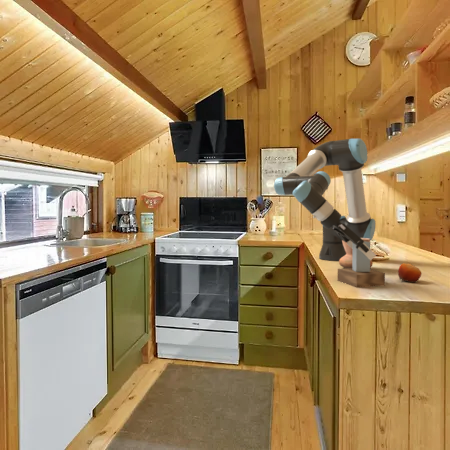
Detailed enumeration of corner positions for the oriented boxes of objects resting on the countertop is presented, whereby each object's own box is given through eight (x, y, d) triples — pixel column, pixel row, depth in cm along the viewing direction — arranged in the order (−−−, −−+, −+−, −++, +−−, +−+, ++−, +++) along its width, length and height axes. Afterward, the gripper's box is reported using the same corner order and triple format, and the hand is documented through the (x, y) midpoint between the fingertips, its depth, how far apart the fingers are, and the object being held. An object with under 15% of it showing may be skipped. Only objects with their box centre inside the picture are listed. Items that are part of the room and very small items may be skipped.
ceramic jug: (333, 266, 174) (334, 236, 173) (363, 265, 174) (363, 236, 173) (347, 273, 156) (348, 240, 155) (380, 273, 156) (381, 240, 155)
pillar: (352, 269, 139) (352, 241, 139) (365, 269, 138) (365, 241, 138) (356, 271, 134) (356, 242, 134) (370, 271, 133) (370, 242, 133)
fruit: (389, 275, 144) (401, 258, 143) (407, 285, 143) (418, 268, 142) (397, 279, 136) (409, 261, 135) (415, 290, 135) (427, 272, 134)
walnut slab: (363, 279, 144) (364, 267, 144) (384, 286, 133) (385, 273, 132) (337, 281, 141) (337, 268, 140) (356, 288, 129) (356, 274, 129)
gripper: (313, 220, 149) (349, 256, 149) (327, 224, 124) (371, 267, 124) (326, 207, 148) (362, 244, 148) (343, 208, 123) (387, 252, 123)
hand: (366, 254), depth 136 cm, fingers open, 13 cm apart
